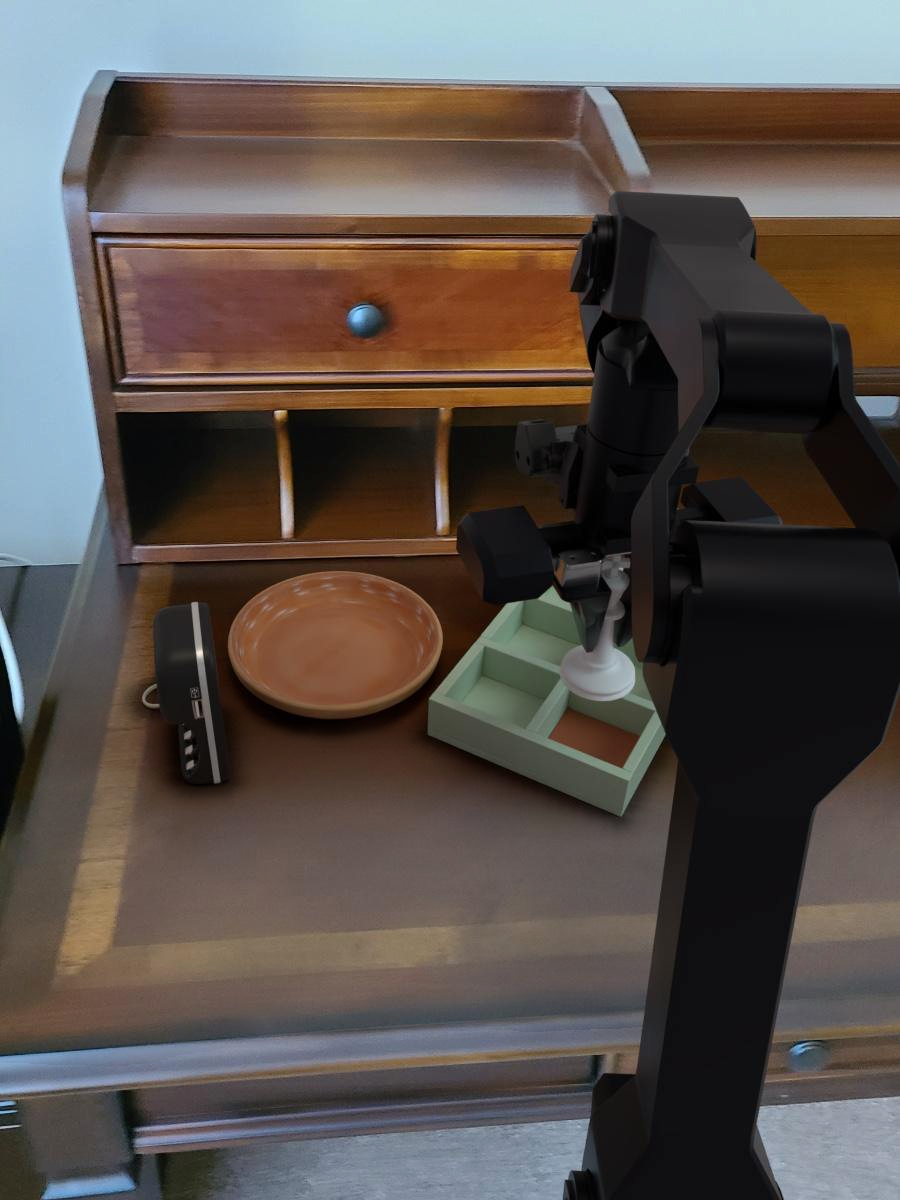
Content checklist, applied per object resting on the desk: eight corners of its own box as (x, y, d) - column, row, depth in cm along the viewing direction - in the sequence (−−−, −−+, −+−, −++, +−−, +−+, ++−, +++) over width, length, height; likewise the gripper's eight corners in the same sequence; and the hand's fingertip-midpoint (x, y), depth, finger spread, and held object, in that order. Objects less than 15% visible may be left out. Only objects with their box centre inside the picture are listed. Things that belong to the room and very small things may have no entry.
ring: (151, 675, 79) (187, 678, 78) (156, 687, 79) (191, 690, 78) (133, 699, 77) (169, 703, 76) (137, 711, 77) (174, 715, 76)
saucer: (298, 577, 90) (296, 548, 88) (473, 631, 85) (475, 602, 83) (188, 696, 78) (183, 665, 76) (384, 767, 74) (384, 736, 72)
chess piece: (639, 703, 68) (664, 577, 62) (562, 700, 68) (579, 574, 61) (630, 652, 72) (652, 529, 65) (556, 649, 72) (572, 526, 65)
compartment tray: (621, 817, 71) (629, 781, 69) (427, 734, 76) (428, 698, 74) (719, 634, 86) (728, 600, 84) (552, 576, 91) (556, 542, 89)
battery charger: (168, 721, 76) (146, 596, 69) (222, 713, 77) (207, 589, 70) (173, 795, 71) (150, 667, 64) (231, 786, 72) (215, 659, 64)
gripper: (721, 350, 67) (678, 553, 76) (434, 379, 62) (427, 591, 72) (818, 438, 58) (755, 653, 68) (495, 479, 54) (477, 703, 63)
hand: (602, 645), depth 68 cm, fingers closed on chess piece
